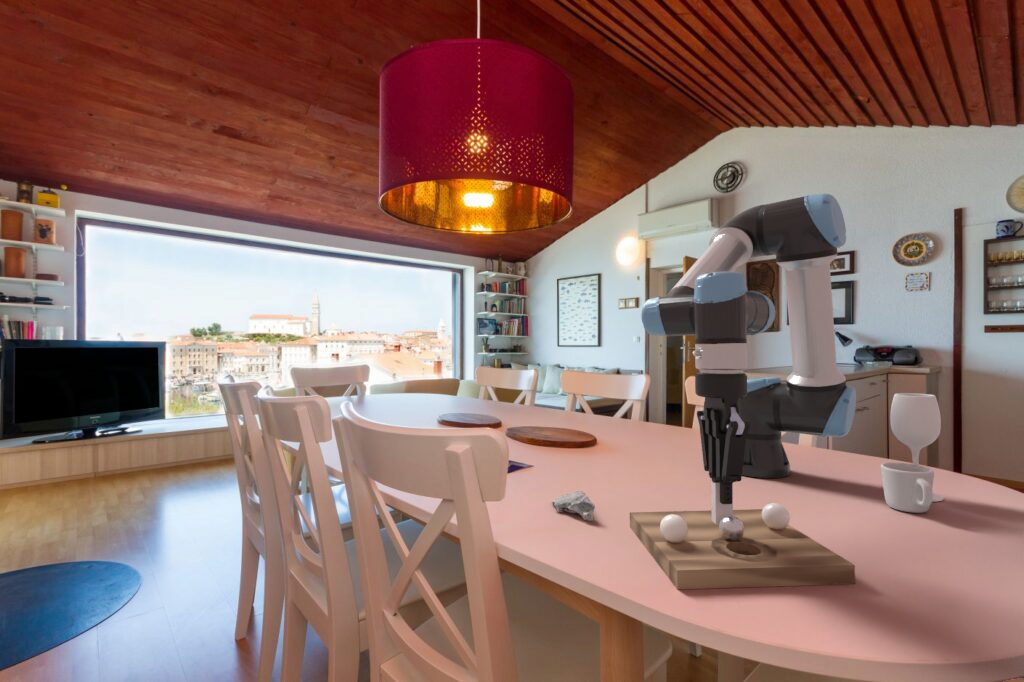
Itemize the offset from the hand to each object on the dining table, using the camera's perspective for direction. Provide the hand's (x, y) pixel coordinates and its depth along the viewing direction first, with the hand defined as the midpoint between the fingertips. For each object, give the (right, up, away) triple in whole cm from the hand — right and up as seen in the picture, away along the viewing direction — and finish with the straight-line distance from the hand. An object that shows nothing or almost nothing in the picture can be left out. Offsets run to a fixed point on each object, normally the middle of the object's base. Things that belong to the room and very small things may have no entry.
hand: (722, 522), depth 76 cm
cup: (+43, -4, +16) cm, 46 cm away
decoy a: (+9, 0, +1) cm, 9 cm away
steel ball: (0, 0, -3) cm, 3 cm away
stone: (-21, -5, +18) cm, 28 cm away
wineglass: (+51, -4, +25) cm, 57 cm away
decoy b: (-9, 0, -3) cm, 9 cm away
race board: (0, -4, -1) cm, 4 cm away
